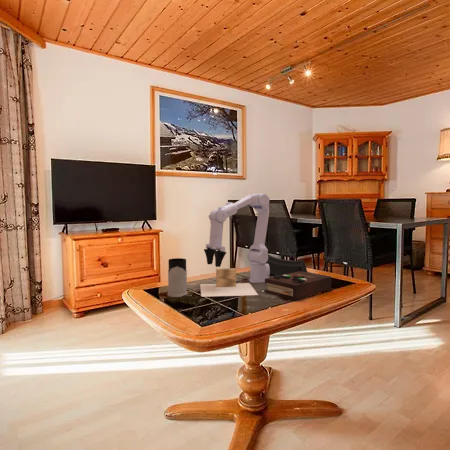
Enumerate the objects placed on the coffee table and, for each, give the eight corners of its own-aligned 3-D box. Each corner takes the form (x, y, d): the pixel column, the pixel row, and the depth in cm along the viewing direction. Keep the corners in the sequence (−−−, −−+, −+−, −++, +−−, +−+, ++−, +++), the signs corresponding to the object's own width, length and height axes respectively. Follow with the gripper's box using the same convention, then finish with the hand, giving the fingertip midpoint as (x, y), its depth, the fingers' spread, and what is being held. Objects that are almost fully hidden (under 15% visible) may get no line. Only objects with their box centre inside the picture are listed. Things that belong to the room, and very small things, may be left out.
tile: (235, 285, 157) (235, 268, 157) (235, 286, 154) (235, 269, 154) (216, 285, 156) (216, 268, 156) (216, 287, 153) (216, 269, 153)
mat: (249, 283, 161) (249, 283, 161) (258, 295, 139) (258, 295, 139) (200, 285, 159) (200, 284, 159) (201, 297, 137) (201, 296, 137)
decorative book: (336, 274, 148) (295, 284, 129) (336, 291, 149) (295, 304, 129) (301, 268, 163) (259, 277, 143) (301, 283, 163) (259, 294, 144)
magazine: (313, 263, 167) (269, 241, 187) (309, 264, 165) (265, 242, 185) (304, 293, 171) (262, 269, 192) (300, 294, 169) (258, 270, 190)
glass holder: (166, 297, 137) (166, 261, 137) (169, 288, 152) (168, 256, 151) (187, 296, 138) (187, 261, 137) (188, 288, 152) (188, 256, 152)
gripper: (201, 234, 155) (198, 263, 155) (216, 236, 143) (213, 267, 143) (214, 235, 159) (211, 263, 159) (230, 237, 146) (227, 267, 146)
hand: (213, 265), depth 151 cm, fingers open, 7 cm apart
